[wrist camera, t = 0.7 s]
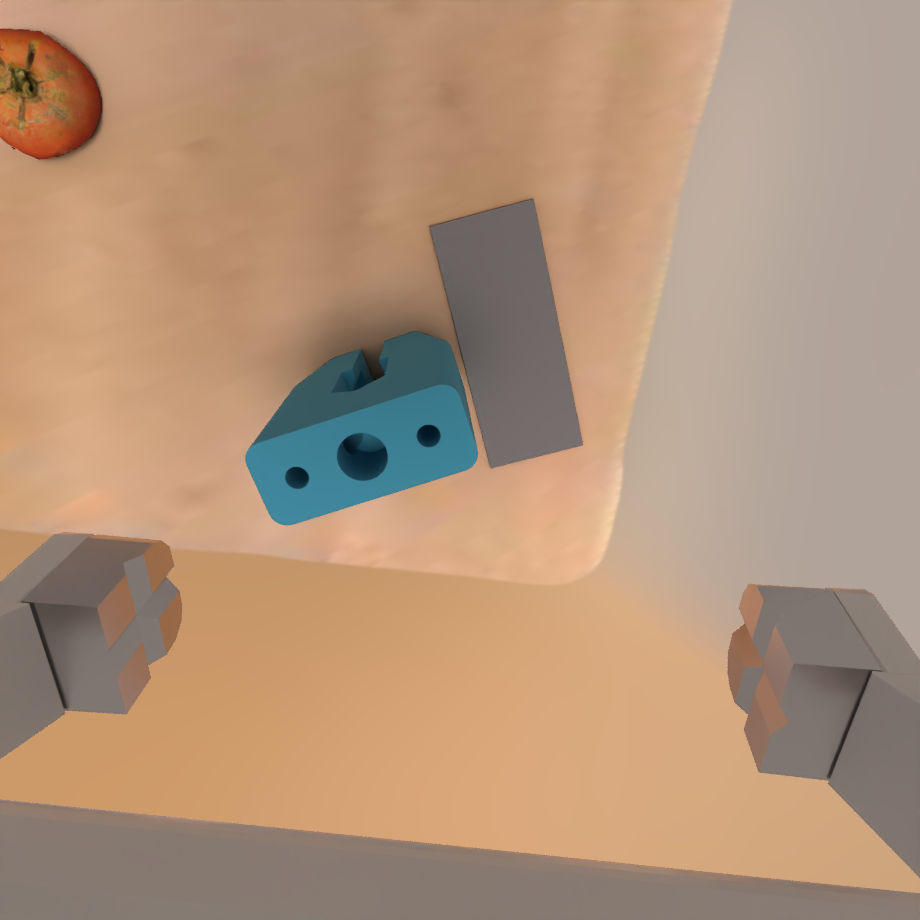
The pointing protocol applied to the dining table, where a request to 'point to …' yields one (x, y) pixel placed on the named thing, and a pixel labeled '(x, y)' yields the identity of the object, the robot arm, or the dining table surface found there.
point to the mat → (508, 332)
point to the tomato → (44, 95)
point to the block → (364, 431)
